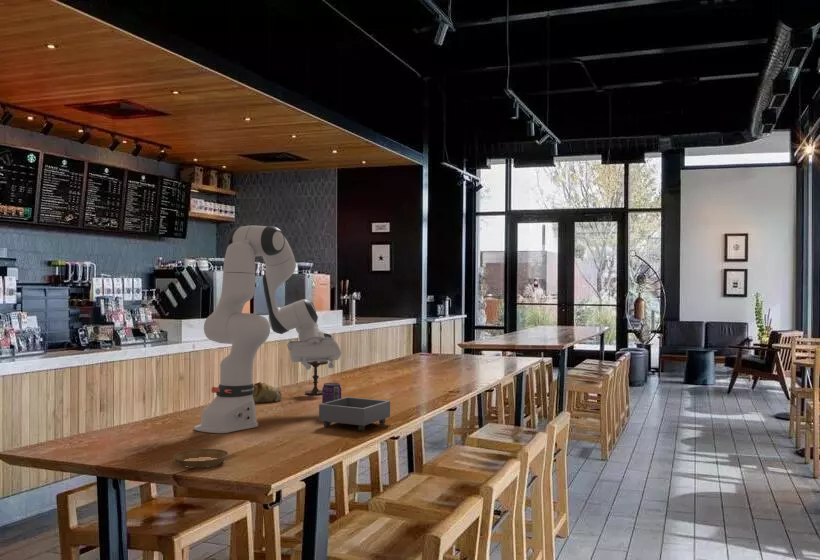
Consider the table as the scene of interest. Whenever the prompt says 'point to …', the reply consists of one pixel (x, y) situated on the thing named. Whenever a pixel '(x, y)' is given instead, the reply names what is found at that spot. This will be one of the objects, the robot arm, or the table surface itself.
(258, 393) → the olive green rounded lump
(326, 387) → the beverage can
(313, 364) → the candlestick
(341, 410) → the parts cart
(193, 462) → the plant saucer
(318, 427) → the table surface
